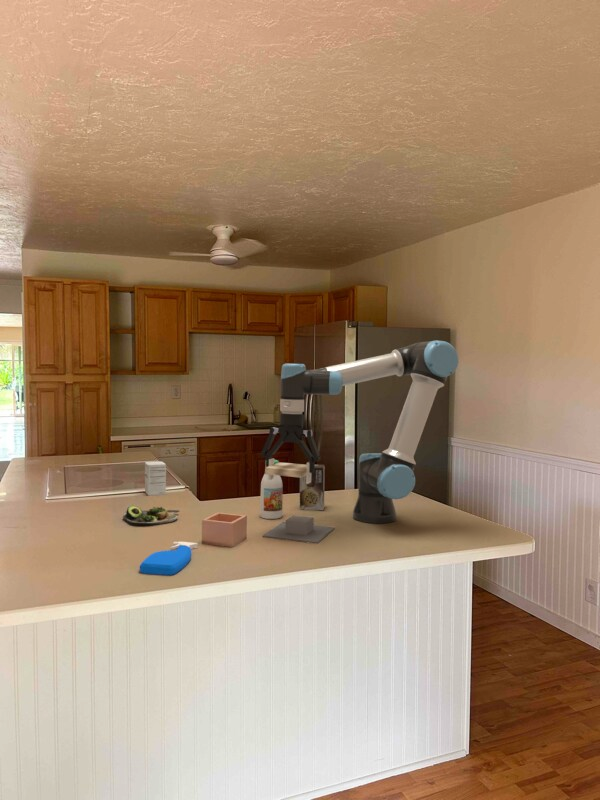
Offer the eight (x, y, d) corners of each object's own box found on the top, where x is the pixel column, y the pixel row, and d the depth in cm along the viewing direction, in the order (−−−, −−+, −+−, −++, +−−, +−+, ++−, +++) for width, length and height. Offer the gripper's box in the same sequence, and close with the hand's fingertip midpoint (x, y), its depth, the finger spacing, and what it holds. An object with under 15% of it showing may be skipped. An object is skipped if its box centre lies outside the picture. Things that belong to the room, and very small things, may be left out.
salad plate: (170, 510, 219) (170, 498, 219) (190, 521, 204) (190, 508, 204) (117, 517, 209) (117, 504, 208) (134, 529, 194) (134, 515, 193)
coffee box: (324, 506, 228) (325, 464, 227) (323, 510, 222) (324, 467, 221) (300, 505, 229) (301, 463, 228) (298, 509, 223) (299, 466, 222)
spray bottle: (176, 566, 151) (205, 539, 175) (135, 563, 153) (170, 537, 177) (176, 577, 151) (205, 549, 175) (135, 574, 153) (169, 547, 177)
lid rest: (334, 528, 197) (334, 515, 197) (317, 543, 180) (317, 529, 180) (283, 522, 203) (283, 509, 203) (262, 537, 187) (262, 522, 186)
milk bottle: (256, 517, 210) (256, 460, 209) (267, 513, 217) (268, 458, 216) (275, 520, 206) (276, 462, 205) (286, 515, 213) (287, 459, 212)
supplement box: (144, 492, 248) (144, 461, 247) (162, 490, 251) (162, 460, 250) (147, 495, 241) (147, 464, 240) (166, 494, 244) (166, 463, 244)
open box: (246, 538, 185) (246, 515, 185) (232, 547, 176) (232, 523, 175) (217, 534, 188) (217, 512, 188) (201, 543, 179) (202, 519, 179)
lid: (314, 471, 193) (314, 465, 193) (301, 477, 182) (301, 471, 182) (279, 468, 197) (279, 462, 197) (264, 474, 186) (265, 467, 186)
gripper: (251, 411, 189) (249, 479, 190) (325, 415, 181) (322, 486, 182) (261, 409, 196) (259, 475, 197) (332, 414, 188) (329, 482, 189)
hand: (289, 481), depth 190 cm, fingers closed on lid, 12 cm apart
